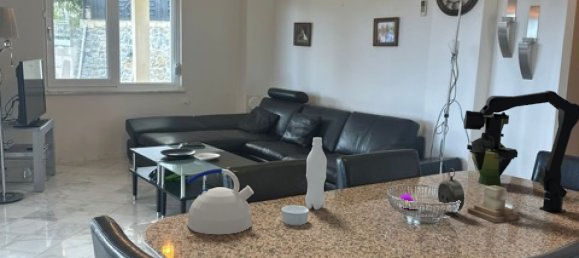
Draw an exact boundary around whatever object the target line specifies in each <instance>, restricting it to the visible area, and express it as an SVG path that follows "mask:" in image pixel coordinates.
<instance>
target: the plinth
mask: <svg viewBox="0 0 579 258" xmlns="http://www.w3.org/2000/svg"><path fill="white" fill-rule="evenodd" d="M467 214H470V215H472V216H475V217H477V218H480V219H484V220H486V221H488V222H491V223H494V224H497V223H502V222H508V221H513V220H519V219H520V216H521V215H520V213H517V212H514V209H513V208H511V207H507V206H505V209H498V210H493V209H490V208H487V207H484V206H483V203H481V204H475V205H474V207H472V208H471V207H470V208H467Z"/></svg>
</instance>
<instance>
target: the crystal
mask: <svg viewBox="0 0 579 258" xmlns="http://www.w3.org/2000/svg"><path fill="white" fill-rule="evenodd" d="M399 198H401V199H404V200H408V201H414V202H415V200H414V198H413V197H412V195H411V194H410V192H407V193H405V194H402V195H401V196H399Z"/></svg>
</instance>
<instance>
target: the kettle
mask: <svg viewBox="0 0 579 258" xmlns="http://www.w3.org/2000/svg"><path fill="white" fill-rule="evenodd" d="M213 174H226V175H228V176H229V177H230V178H231V179H232V182H233V189H231V188H228V187H224V186H223V187H222V186H220V187H217V186H216V187H213V188H210V189H207V188H205V189H202V190H200V192H199V195H198V196H197V197H196V198H195V199H194V201H193V202H192V203H191V205H190V208H189V210H188V219H187V223H186V224H187V227H188V228H189V229H190V230H192V231H194V232H195V233H200V234H203V233H204V234H203V235H209V234H217V235H216V236H221V235H220V234H227V235H232V234H231V233H235V234H238V233H237V232H239V233H241V231H242V232H244V230H245V231H247V230H249V229H250V228H251V227H252V225H253V223H252V222H253V221H252V213H251V212H252V211H251V208H250V206H249V203H248V201H247V200H248V199H249V198H250V197H251V196H252V195H254V193H255V192H254V190H253V189H252V188H251V187H250V186H249V185H246V187H244V188H242V190H240V182H239V178H238V177H237V176H236V174H235V173H234V172H233V171H231V170H230V169H224V168H214V169H208V170H205V171H202V172H199V173H197V174H194V176H192V177H189V179H188V180H187V181H186V182H187V183H188V184H193V183H194V182H195V181H197V180H198V179H201V178H202V177H205V176H208V175H213ZM239 190H240V191H239ZM249 227H250V228H249ZM246 229H247V230H246ZM218 234H219V235H218Z"/></svg>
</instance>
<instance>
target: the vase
mask: <svg viewBox="0 0 579 258" xmlns="http://www.w3.org/2000/svg"><path fill="white" fill-rule="evenodd" d="M493 114H497V113H495V112H494V113H493ZM506 115H507V116H508V117H509V119H503V122H502V130H503V128H504V126H505V125H509V121H510V115H509V114H506ZM484 116H492V114H491V115H484ZM485 123H486V118H485ZM500 145H503V148H507V147H506V146H505V145H504V144H503V143H501V144H500ZM497 157H499V156H498V153H494V152H489V151H486V154H485V158H484V162H483V166H482V169H481V170H479V169H478V166H477V162H476V159H475V156H474V155H473V154H472V155H471V159H472V161H473V163H474V165H475V167H476V170H477V171H478V173H479V178H478V181H477V183H478V184H481V185H485V186H494V185H495V186H501V184H502V183H501V176H502V175H498V166H499V161H498V159H497ZM511 163H512V160H511V161H510V162H509V164H508V165H507V167H506V168H505V170H506V169H507V168H508V167H509V165H510V164H511ZM505 170H504V171H503V173H504V172H505Z"/></svg>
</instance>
